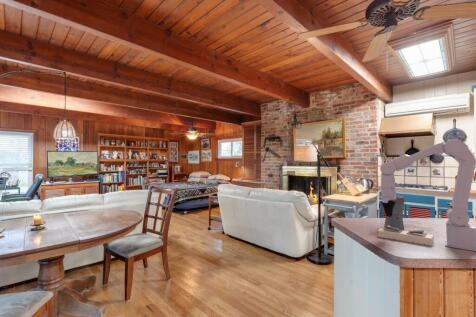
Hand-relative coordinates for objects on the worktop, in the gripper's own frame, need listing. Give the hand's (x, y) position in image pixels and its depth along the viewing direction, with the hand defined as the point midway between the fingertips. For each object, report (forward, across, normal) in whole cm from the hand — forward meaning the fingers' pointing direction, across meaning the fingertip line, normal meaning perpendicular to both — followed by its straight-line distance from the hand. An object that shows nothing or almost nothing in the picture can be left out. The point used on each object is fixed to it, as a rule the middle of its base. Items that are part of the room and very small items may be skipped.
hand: (388, 216), depth 113 cm
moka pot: (+10, -19, -2) cm, 21 cm away
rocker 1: (+5, 0, +1) cm, 5 cm away
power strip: (+10, 0, +6) cm, 11 cm away
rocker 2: (+5, 0, +10) cm, 12 cm away
